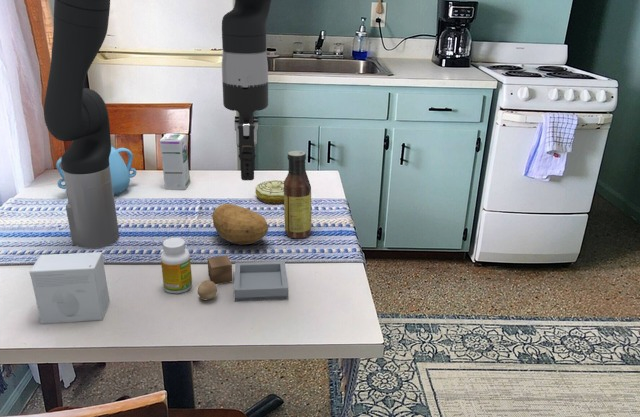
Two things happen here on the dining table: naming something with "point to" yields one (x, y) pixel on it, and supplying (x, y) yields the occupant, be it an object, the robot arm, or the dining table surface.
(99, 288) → the skincare box
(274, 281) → the tray
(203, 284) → the cork ball
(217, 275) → the walnut block
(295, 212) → the sauce bottle
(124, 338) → the dining table surface
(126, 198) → the dining table surface
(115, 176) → the decorative pot
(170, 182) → the syrup box
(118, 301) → the dining table surface
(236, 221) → the potato
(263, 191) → the decorated donut
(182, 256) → the supplement bottle
